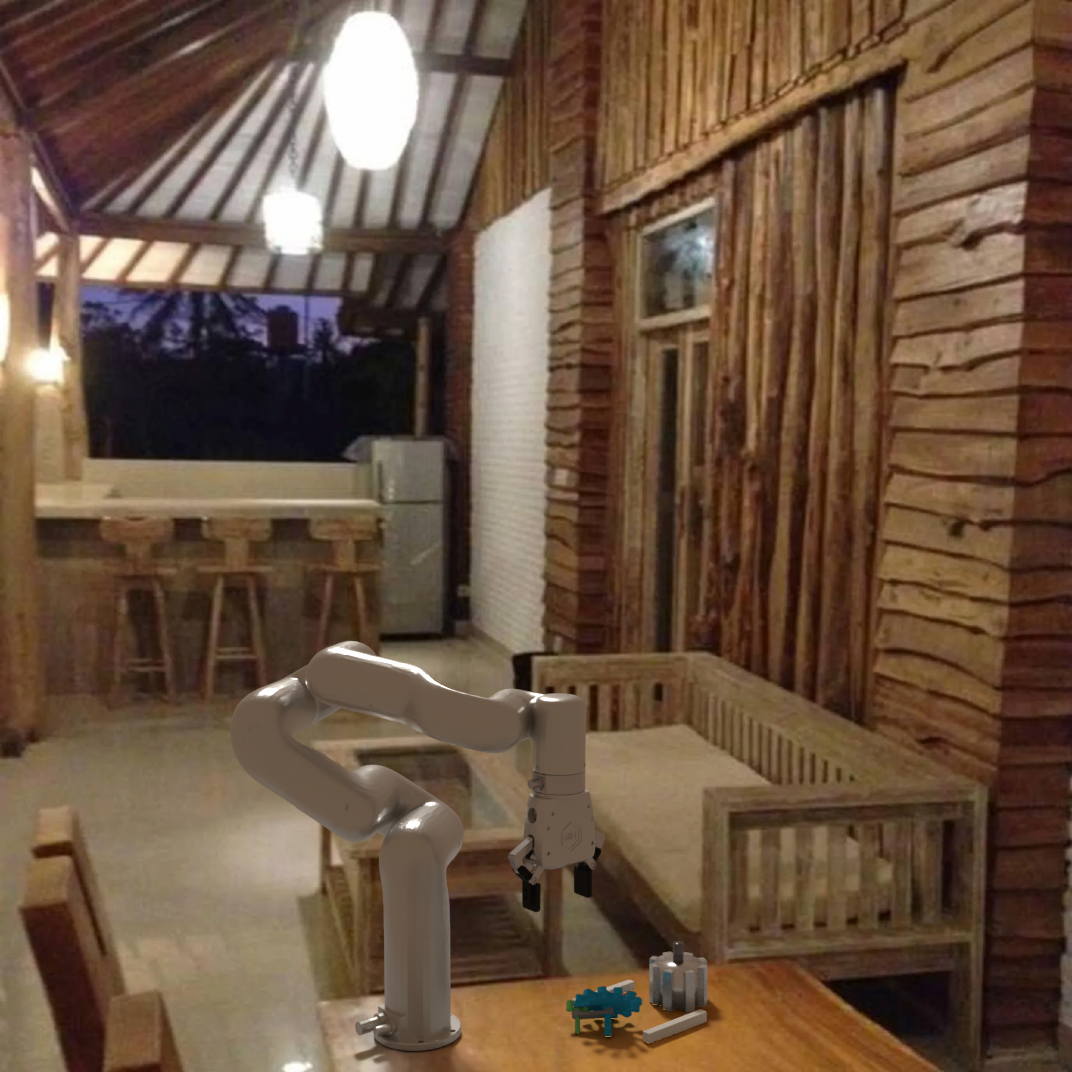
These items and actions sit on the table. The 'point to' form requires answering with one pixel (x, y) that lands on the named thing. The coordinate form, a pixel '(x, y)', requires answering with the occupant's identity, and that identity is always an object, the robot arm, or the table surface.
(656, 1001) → the sun gear
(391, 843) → the robot arm
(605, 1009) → the gear
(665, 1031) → the guide rails
